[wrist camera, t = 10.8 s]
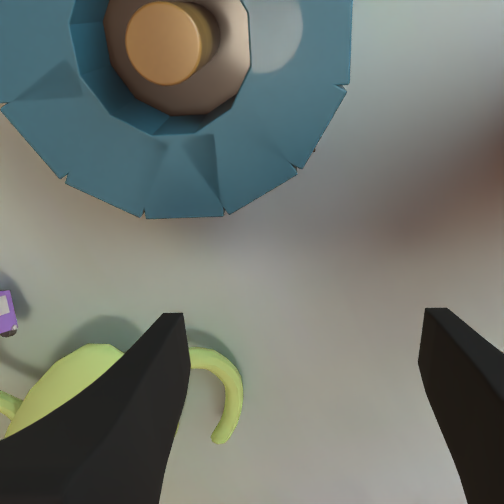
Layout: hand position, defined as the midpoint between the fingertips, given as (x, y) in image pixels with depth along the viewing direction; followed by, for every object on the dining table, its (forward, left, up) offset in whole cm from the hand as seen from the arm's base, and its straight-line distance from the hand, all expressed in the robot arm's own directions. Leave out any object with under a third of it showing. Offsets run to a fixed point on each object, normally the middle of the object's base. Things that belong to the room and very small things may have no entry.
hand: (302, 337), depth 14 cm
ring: (+4, -8, -9) cm, 13 cm away
